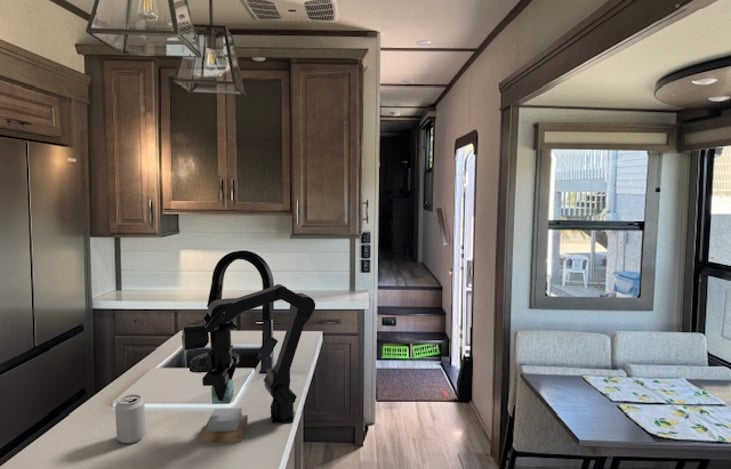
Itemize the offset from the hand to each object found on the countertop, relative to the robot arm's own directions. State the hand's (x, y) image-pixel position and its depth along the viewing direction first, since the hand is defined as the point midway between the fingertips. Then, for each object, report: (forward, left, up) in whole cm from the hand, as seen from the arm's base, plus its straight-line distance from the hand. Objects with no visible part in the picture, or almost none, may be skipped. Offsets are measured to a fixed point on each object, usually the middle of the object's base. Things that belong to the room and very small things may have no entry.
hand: (223, 396), depth 145 cm
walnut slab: (0, 0, -12) cm, 12 cm away
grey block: (-1, 0, -8) cm, 8 cm away
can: (+26, +2, -11) cm, 28 cm away
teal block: (0, 0, -1) cm, 1 cm away
